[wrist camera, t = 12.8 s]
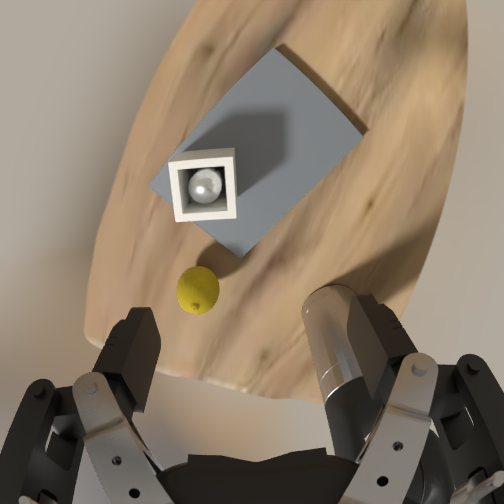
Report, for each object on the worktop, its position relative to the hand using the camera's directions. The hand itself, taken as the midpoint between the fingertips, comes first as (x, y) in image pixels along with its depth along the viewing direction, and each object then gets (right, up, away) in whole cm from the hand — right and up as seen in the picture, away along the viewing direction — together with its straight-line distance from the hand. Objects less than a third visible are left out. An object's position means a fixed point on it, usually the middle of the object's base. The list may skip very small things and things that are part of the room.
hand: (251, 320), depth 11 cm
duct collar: (-5, +12, +22) cm, 25 cm away
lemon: (-7, 0, +30) cm, 30 cm away
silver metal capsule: (-5, +12, +22) cm, 25 cm away
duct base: (0, +14, +22) cm, 26 cm away
